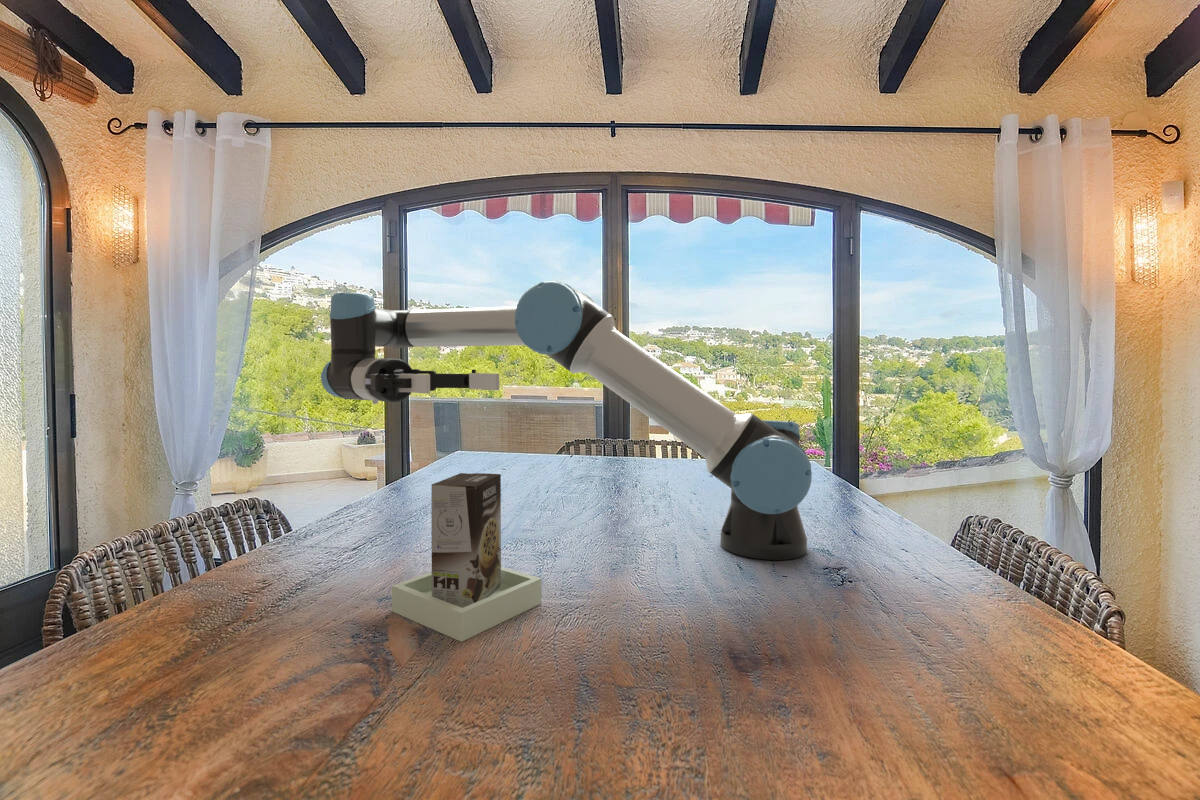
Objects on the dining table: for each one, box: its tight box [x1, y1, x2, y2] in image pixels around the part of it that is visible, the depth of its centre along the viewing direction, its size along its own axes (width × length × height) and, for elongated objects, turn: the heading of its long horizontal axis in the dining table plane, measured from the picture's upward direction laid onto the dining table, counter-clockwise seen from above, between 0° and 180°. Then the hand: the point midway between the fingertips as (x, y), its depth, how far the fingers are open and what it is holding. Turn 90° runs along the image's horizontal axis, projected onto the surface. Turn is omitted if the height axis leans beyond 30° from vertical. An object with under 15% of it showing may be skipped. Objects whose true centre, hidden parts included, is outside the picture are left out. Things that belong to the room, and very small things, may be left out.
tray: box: [391, 565, 543, 643], centre depth 78 cm, size 14×14×4 cm
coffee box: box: [430, 472, 502, 608], centre depth 78 cm, size 9×6×16 cm
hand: (465, 382), depth 89 cm, fingers open, 13 cm apart
